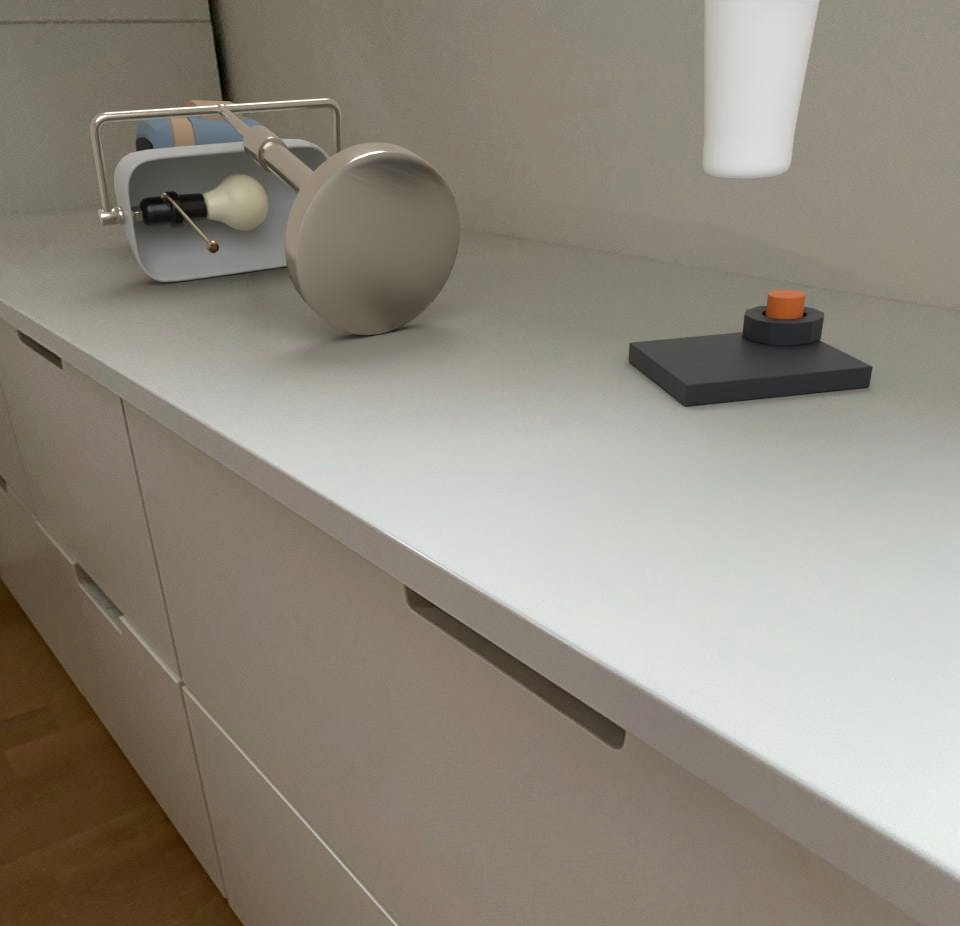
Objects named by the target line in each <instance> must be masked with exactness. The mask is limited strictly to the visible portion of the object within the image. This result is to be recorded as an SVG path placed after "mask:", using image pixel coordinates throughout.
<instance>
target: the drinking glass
mask: <svg viewBox="0 0 960 926" xmlns="http://www.w3.org/2000/svg"><path fill="white" fill-rule="evenodd" d="M702 1H703V2H702V3H703V5H702V6H703V8H702V9H703V12H702V13H703V14H702V15H703V17H702V18H703V140H702V154H701V168H702V171H703V172H704V174H705V175H707V176H708V177H711V178H717V179H725V180H727V179H728V180H757V179H769V178H775V177H776V178H777V177H779V176H782V175H784V174H785V173H787V172H788V170H789V169H790V167H791V165H792V160H793V153H794V144H795V134H796V129H797V123H798V117H799V111H800V107H801V102H802V96H803V89H804V86H805V79H806V76H807V70H808V64H809V59H810V54H811V50H812V49H811V48H812V44H813V43H812V42H813V37H814V33H815V27H816V22H817V17H818V12H819V8H820V7H819V6H820V2H821V0H702Z"/></svg>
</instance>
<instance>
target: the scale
mask: <svg viewBox="0 0 960 926" xmlns="http://www.w3.org/2000/svg"><path fill="white" fill-rule="evenodd" d="M766 307H767V305H757V306H755V307H751V308H748V309H746V311H745V312H744V315H743V326H742V331H740V332H730V333H729V332H728V333H720V334H718V333H717V334H708V335H696V336H686V337H675V338H674V337H673V338H665V339H664V338H663V339H653V340H643V341H631V342H629V344H628V362H629V363H630V364H631V365H632V366H634V367H635V368H636V369H637V370H639V371H640V372H641V373H643V374H644V375H645V376H646V377H648V378H649V379H650V380H651V381H652V382H654V383H655V384H656V385H658V386H659V387H660V388H661V389H662V390H664V391H665V392H667V393H668V394H669V395H670V396H672V397H673V398H674V399H675V400H677V402H679V403H680V404H682V405H683V406H685V407H691V406H699V405H700V406H702V405H711V404H719V403H721V404H722V403H730V402H731V403H732V402H739V401H740V402H741V401H750V400H758V399H770V398H777V397H787V396H796V395H806V394H816V393H824V392H825V393H826V392H835V391H845V390H854V389H862V388H863V389H864V388H869V387H870V386H871V379H872V373H873V367H874V366H873V365H871V364H869V363H867V362H864V361H863V360H860V359H858V358H856V357H855V356H852V355H850V354H848V353H846V352H844V351H842V350H840V349H838V348H836V347H834V346H832V345H830V344H829V343H826V342H824V341H822V334H823V327H824V321H825V312H823V311H822V310H819V309H817V308H815V307H809V306H804V311H803V317H802V318H797V319H776V318H770V317H766Z"/></svg>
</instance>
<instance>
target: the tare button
mask: <svg viewBox="0 0 960 926" xmlns="http://www.w3.org/2000/svg"><path fill="white" fill-rule="evenodd" d="M806 295H807V294H806V293H805V292H803V291H799V290H792V289H778V290H772V291H769V292H768V293H767V298H766V300H767V301H766V306H767V307H766V317H770V318H776V319H797V318H802V317H803V311H804V307H805V304H806V303H805V302H806Z"/></svg>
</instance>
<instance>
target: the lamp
mask: <svg viewBox="0 0 960 926" xmlns="http://www.w3.org/2000/svg"><path fill="white" fill-rule="evenodd" d="M312 109H330V110H331V112H332V154H333V155H331V156H329V154H327V152H326V150H324V149H322V147H320V146H318V145H317V144H315V143H312V142H311V141H308V140H304V139H302V138H301V139H300V138H280V137H279V136H278V135H277V134H276V133H274V132H273V131H272V130H271V129H270V128H268V127H267V126H265V125H264V124H262V125H254V126H252V127H248V126H247V125H246V124H245V123H244V122H243V121H241V120H240V119H239V118H238V117H237V116H236V115H234V114H242V115H243V114H256V113H270V112H284V111H298V110H299V111H300V110H312ZM213 115H217V116H218V117H220V118H223V119H224V120H225V121H226V122H228V123H229V124H230V125H231V126H232V127H233V128H234V129H236V130H237V131H238V132H239V133H240V134H241V135H242V136H244V137H243V142H231V143H218V144H206V145H193V146H180V147H170V148H159V149H149V150H142V151H137V152H136V151H133V152H129V153H128V154H126V155H125V156H123V157H122V158H121V159H120V160H119V161H118V163H117V165H116V167H115V169H114V173H113V187H114V188H113V189H114V194H115V199H116V204H117V206H116V207H113V204H112V197H111V191H110V186H109V185H110V184H109V179H108V173H107V172H108V171H107V165H106V160H105V154H104V147H103V141H102V135H101V128H102V126H103V125H104V124H108V123H109V124H111V123H124V122H139V121H140V120H154V119H169V118H184V117H198V116H213ZM263 125H264V126H263ZM89 134H90V140H91V146H92V151H93V158H94V163H95V164H94V165H95V171H96V175H97V181H98V187H99V188H98V189H99V194H100V200H101V205H102V208H99V209H97V218H98V221H99V224H100V225H101V227H106V226H107V227H108V226H115V225H116V226H117V225H120V226H122V229H123V233H124V235H125V237H126V241H127V243H128V245H129V248H130V250H131V252H132V254H133V256H134V259H135V261H136V262H137V264H138V265H139V268H140V269H141V271H142V272H143V273H144V274H145V275H146V276H147V277H149V278H150V279H152V280H153V281H156V282H159V283H177V282H185V281H193V280H200V279H201V280H202V279H209V278H216V277H223V276H231V275H238V274H244V273H251V272H259V271H266V270H273V269H280V268H287V272H288V275H289V278H290V280H291V282H292V284H293V286H294V289H295V290H296V292H297V293H298V294H299V297H300V298H301V299H302V300H303V302H304V303H305V304H306V305H307V306H308V307H309V308H310V309H311V310H312V311H313V312H314V313H315V314H316V315H317V316H318V317H319V318H320V319H321V320H322V321H323V322H325V323H326V324H328V325H329V326H331V327H332V328H335V329H337V330H339V331H341V332H344V333H348V334H352V335H360V336H372V335H373V336H374V335H380V334H384V333H388V332H392V331H394V330H396V329H399V328H401V327H403V326H406V325H407V324H409V323H410V322H412V321H413V320H415V319H416V318H417V317H418V316H419V315H421V314H422V313H424V312H425V310H427V308H429V306H430V305H432V303H434V301H435V300H436V299H437V297H438V296H439V294H440V293H441V292H442V291H443V289H444V288H445V285H446V283H447V281H448V280H449V278H450V276H451V273H452V271H453V269H454V266H455V263H456V260H457V256H458V252H459V246H460V240H461V239H460V238H461V222H460V213H459V209H458V206H457V205H458V204H457V202H456V198H455V196H454V194H453V192H452V190H451V188H450V185H449V183H448V182H447V181H446V180H445V178H444V176H443V175H442V174H441V173H440V172H439V171H438V170H437V169H436V168H435V167H434V166H433V165H431V163H429V162H428V161H426V160H425V159H423V158H422V157H420V156H419V155H417V153H415V152H413V151H411V150H410V149H408V148H405V147H403V146H400V145H398V144H395V143H390V142H385V141H382V142H381V141H379V142H376V141H370V142H364V143H358V144H355V145H352V146H350V147H346V148H344V149H343V147H342V143H343V142H342V110H341V107H340V104H339V103H338V102H337V101H336V100H334V99H332V98H329V97H321V98H320V97H317V98H304V99H303V98H302V99H301V98H300V99H287V100H286V99H285V100H272V101H271V100H269V101H257V102H256V101H254V102H241V103H238V102H237V103H235V104H222V103H220V104H218V105H207V106H191V107H184V106H179V107H163V108H162V107H161V108H146V109H145V108H144V109H131V110H130V109H129V110H115V111H103V112H101V113H100V112H99V113H98V114H96V115H94V117H93V118H92V120H91V122H90V125H89Z"/></svg>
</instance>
